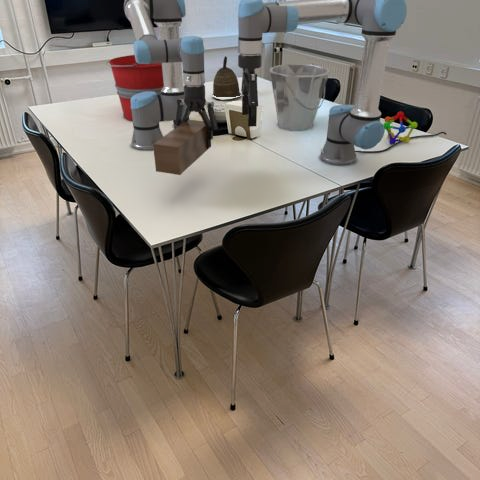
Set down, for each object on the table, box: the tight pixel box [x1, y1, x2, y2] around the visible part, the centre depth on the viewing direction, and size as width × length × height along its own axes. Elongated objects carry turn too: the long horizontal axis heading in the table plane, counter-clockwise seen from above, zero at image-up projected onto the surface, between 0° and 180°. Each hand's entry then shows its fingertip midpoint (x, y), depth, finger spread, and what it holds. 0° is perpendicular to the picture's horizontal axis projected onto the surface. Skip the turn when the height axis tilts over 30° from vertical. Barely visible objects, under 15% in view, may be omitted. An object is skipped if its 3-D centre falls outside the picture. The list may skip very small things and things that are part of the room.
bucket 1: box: [105, 54, 164, 122], centre depth 239 cm, size 35×35×30 cm
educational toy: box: [382, 110, 418, 145], centre depth 207 cm, size 16×13×15 cm
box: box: [153, 119, 209, 176], centre depth 157 cm, size 28×9×10 cm, turn 162°
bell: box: [212, 56, 242, 97], centre depth 278 cm, size 19×26×20 cm
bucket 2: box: [269, 63, 330, 131], centre depth 226 cm, size 30×30×28 cm
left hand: (197, 145), depth 168 cm, fingers closed on box, 9 cm apart
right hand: (248, 120), depth 152 cm, fingers open, 13 cm apart
